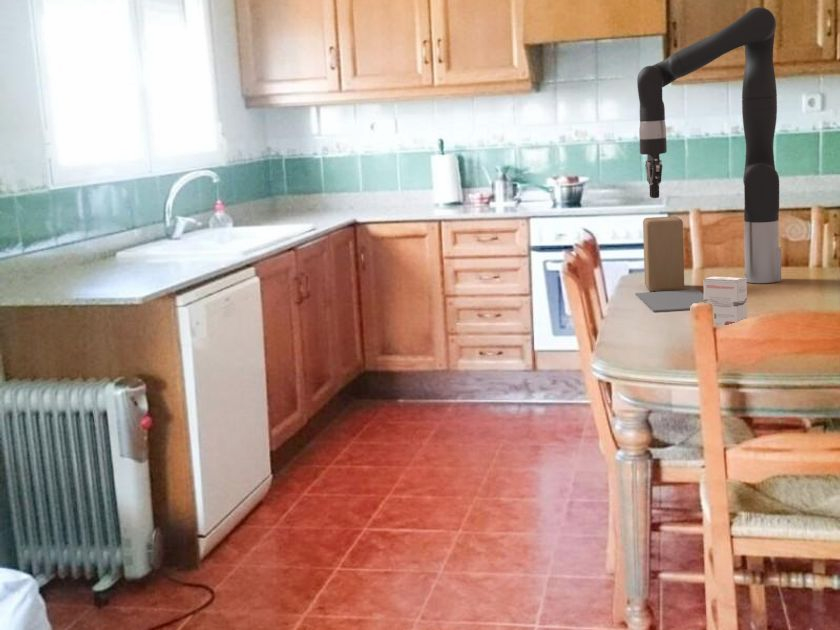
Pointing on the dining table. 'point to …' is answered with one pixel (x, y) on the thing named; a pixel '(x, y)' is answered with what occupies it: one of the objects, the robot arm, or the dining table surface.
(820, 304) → the dining table surface
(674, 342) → the dining table surface
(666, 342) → the dining table surface
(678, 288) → the wooden block
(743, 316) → the ink box
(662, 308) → the rubber mat
